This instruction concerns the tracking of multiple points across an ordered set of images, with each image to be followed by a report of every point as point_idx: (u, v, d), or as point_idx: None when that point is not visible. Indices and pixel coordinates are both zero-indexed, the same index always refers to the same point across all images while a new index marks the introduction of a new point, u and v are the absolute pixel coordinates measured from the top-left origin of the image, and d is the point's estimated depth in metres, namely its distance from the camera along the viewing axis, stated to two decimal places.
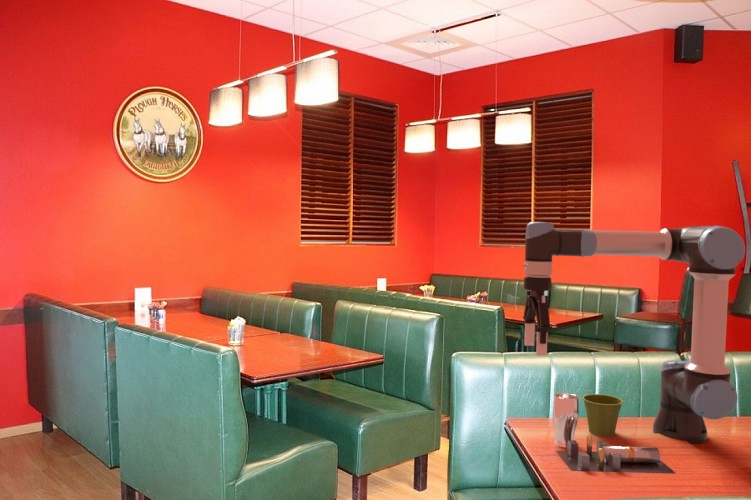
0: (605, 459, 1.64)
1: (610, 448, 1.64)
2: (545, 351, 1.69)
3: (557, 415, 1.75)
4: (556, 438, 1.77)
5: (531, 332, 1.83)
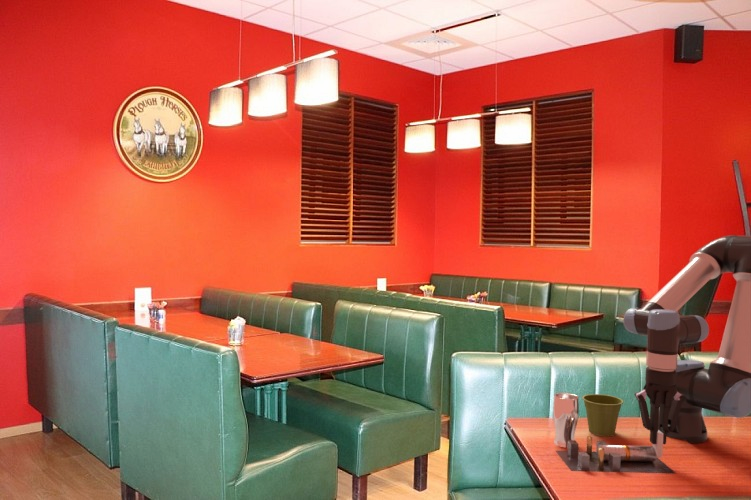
0: None
1: (605, 445, 1.66)
2: (656, 452, 1.64)
3: (557, 415, 1.75)
4: (556, 438, 1.77)
5: None
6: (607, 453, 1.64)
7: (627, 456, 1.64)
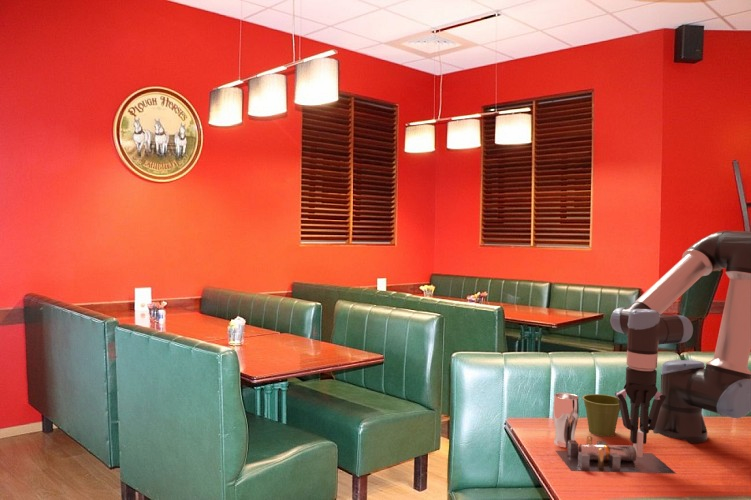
0: None
1: (586, 444, 1.66)
2: (636, 452, 1.64)
3: (557, 415, 1.75)
4: (556, 438, 1.77)
5: None
6: (587, 452, 1.64)
7: (607, 455, 1.64)
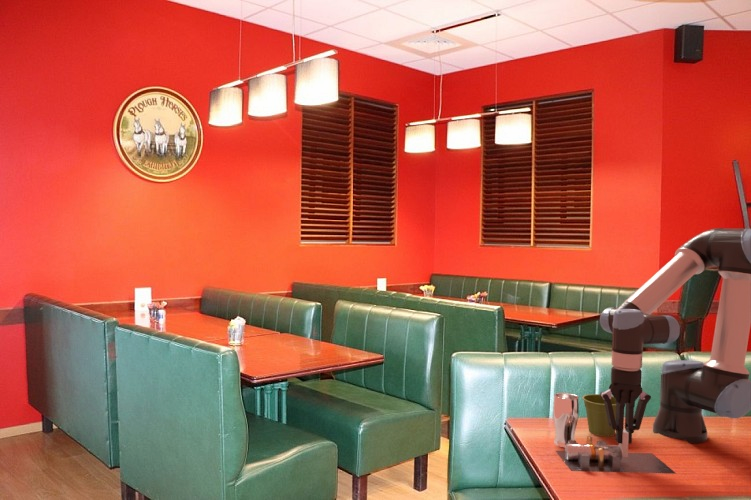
0: (568, 455, 1.64)
1: (571, 444, 1.66)
2: (622, 452, 1.64)
3: (557, 415, 1.75)
4: (556, 438, 1.77)
5: None
6: (573, 452, 1.64)
7: (593, 455, 1.64)
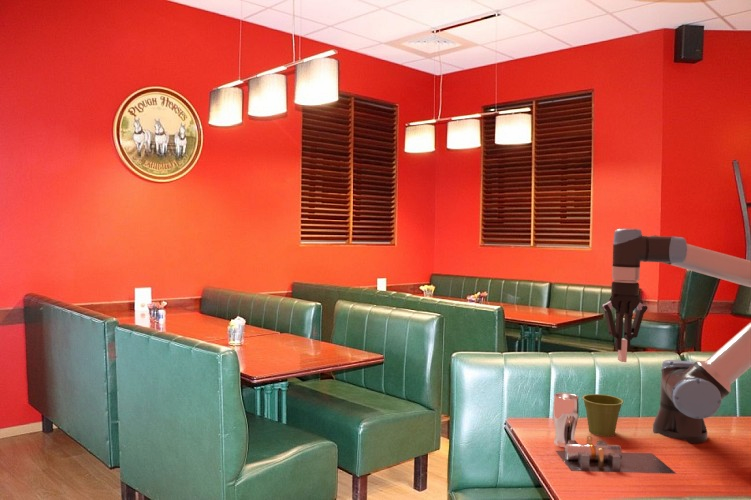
0: (568, 455, 1.64)
1: (571, 444, 1.66)
2: (621, 357, 1.81)
3: (557, 415, 1.75)
4: (556, 438, 1.77)
5: None
6: (573, 452, 1.64)
7: (593, 455, 1.64)
